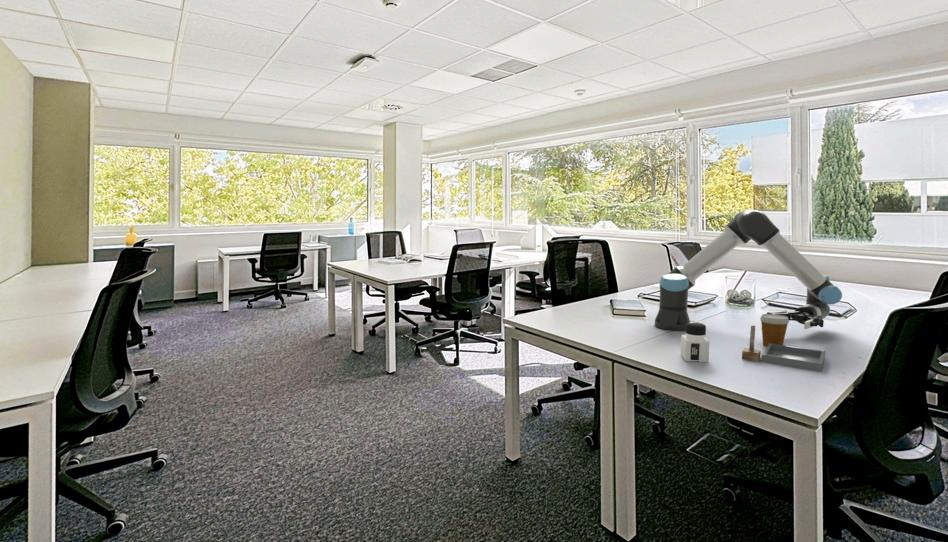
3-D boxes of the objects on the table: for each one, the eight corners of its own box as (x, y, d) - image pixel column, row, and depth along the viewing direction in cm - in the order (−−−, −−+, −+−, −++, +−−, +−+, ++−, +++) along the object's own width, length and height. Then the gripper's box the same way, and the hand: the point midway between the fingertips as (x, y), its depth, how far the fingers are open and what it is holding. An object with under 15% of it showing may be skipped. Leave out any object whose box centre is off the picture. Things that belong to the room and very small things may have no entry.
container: (708, 362, 166) (710, 326, 164) (685, 361, 167) (686, 325, 165) (702, 355, 173) (704, 321, 171) (680, 354, 175) (681, 320, 173)
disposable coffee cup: (759, 341, 189) (761, 312, 188) (787, 345, 184) (789, 315, 182) (757, 347, 182) (759, 317, 180) (786, 351, 176) (789, 320, 175)
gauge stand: (741, 359, 169) (743, 326, 167) (744, 355, 173) (746, 323, 171) (757, 361, 166) (760, 328, 164) (760, 358, 170) (762, 325, 168)
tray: (761, 361, 166) (762, 354, 166) (768, 349, 179) (769, 343, 179) (821, 371, 155) (822, 363, 155) (824, 358, 168) (825, 351, 168)
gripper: (842, 328, 190) (822, 338, 178) (774, 317, 210) (751, 325, 198) (843, 310, 189) (823, 318, 177) (775, 301, 209) (752, 308, 197)
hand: (785, 322), depth 187 cm, fingers open, 13 cm apart
